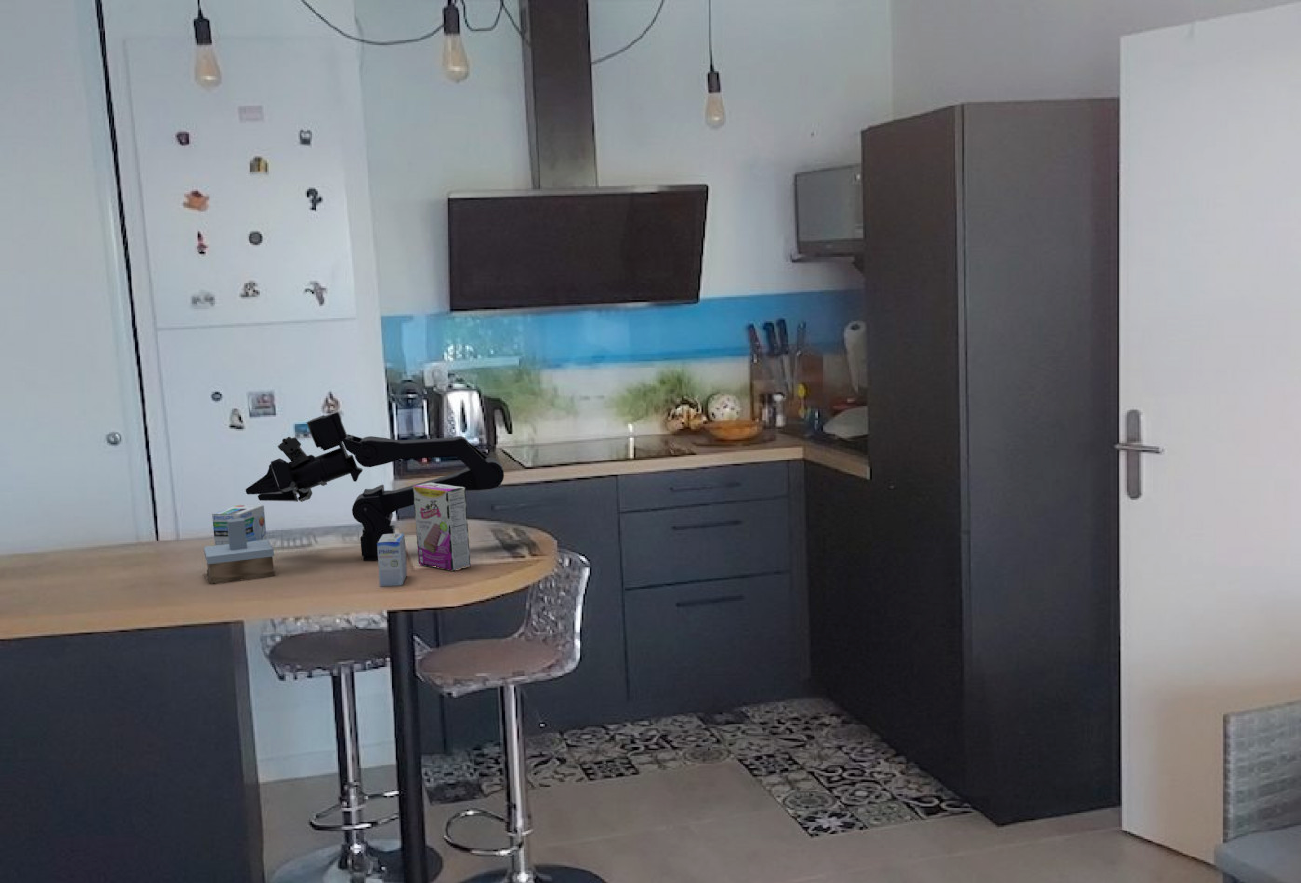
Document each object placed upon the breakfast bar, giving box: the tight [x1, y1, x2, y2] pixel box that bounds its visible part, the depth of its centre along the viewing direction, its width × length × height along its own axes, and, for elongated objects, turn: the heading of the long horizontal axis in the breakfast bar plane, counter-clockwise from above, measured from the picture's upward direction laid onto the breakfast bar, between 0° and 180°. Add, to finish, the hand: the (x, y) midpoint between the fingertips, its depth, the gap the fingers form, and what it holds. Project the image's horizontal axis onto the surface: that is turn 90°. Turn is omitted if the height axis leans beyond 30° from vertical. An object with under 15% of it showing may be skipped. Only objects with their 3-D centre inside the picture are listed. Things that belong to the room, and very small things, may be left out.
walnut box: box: [206, 556, 276, 585], centre depth 259 cm, size 12×10×4 cm
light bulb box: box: [211, 504, 268, 546], centre depth 274 cm, size 11×7×11 cm, turn 168°
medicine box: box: [377, 533, 408, 588], centre depth 247 cm, size 8×4×9 cm, turn 5°
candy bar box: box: [413, 483, 471, 571], centre depth 257 cm, size 11×5×16 cm, turn 48°
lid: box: [203, 518, 275, 565], centre depth 259 cm, size 13×11×7 cm
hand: (252, 495), depth 265 cm, fingers open, 9 cm apart
